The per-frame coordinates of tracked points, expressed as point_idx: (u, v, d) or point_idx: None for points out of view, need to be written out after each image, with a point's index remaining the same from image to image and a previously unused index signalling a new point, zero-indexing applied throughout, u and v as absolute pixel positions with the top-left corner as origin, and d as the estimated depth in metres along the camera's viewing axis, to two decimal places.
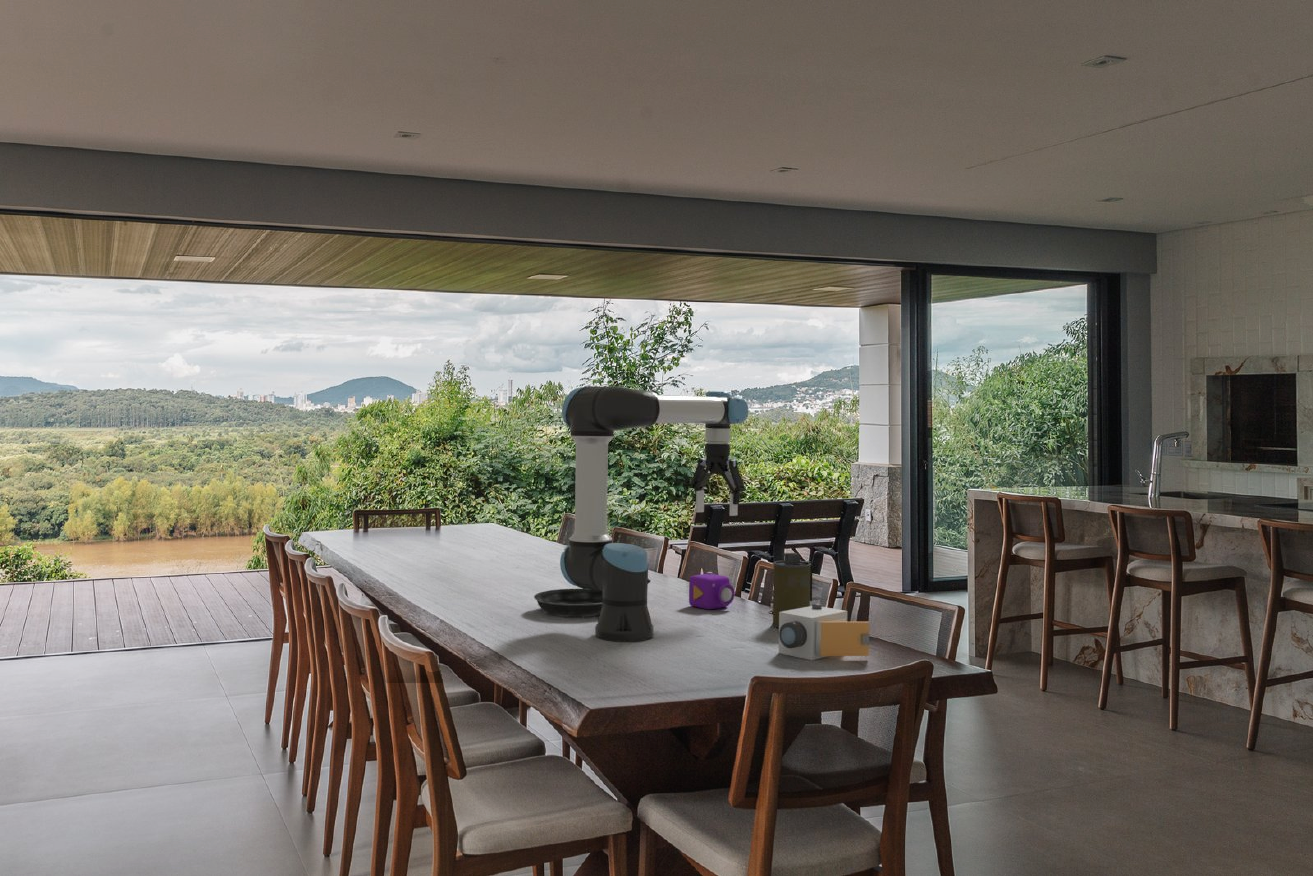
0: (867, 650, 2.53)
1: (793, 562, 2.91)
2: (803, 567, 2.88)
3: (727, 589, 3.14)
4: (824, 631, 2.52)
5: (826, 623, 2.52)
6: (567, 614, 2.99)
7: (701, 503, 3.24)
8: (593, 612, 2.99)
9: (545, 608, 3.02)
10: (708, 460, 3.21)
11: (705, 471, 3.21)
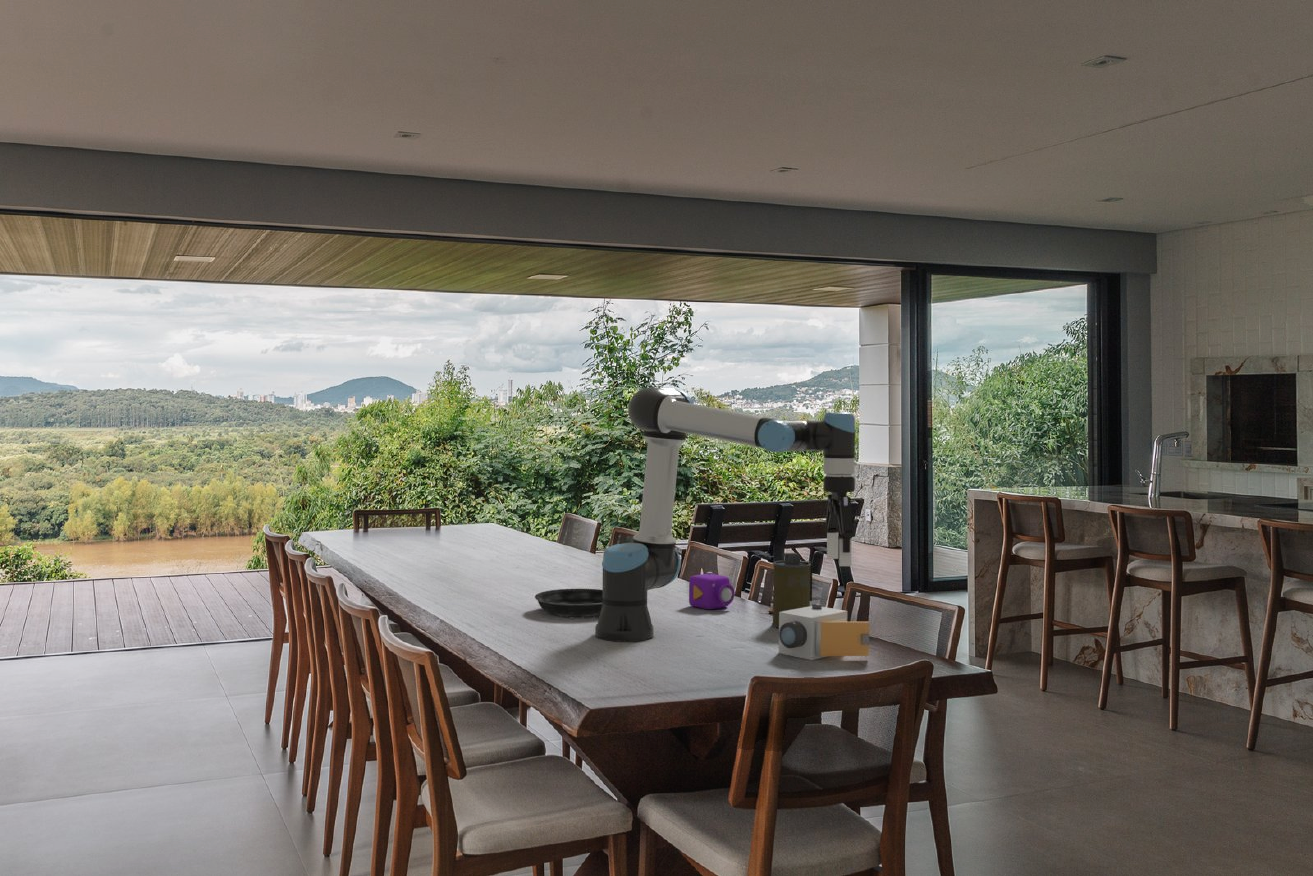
0: (867, 650, 2.53)
1: (793, 562, 2.91)
2: (803, 567, 2.88)
3: (727, 589, 3.14)
4: (824, 631, 2.52)
5: (826, 623, 2.52)
6: (568, 614, 2.99)
7: (834, 548, 2.67)
8: (594, 612, 2.99)
9: (546, 608, 3.02)
10: (832, 496, 2.63)
11: (829, 509, 2.64)
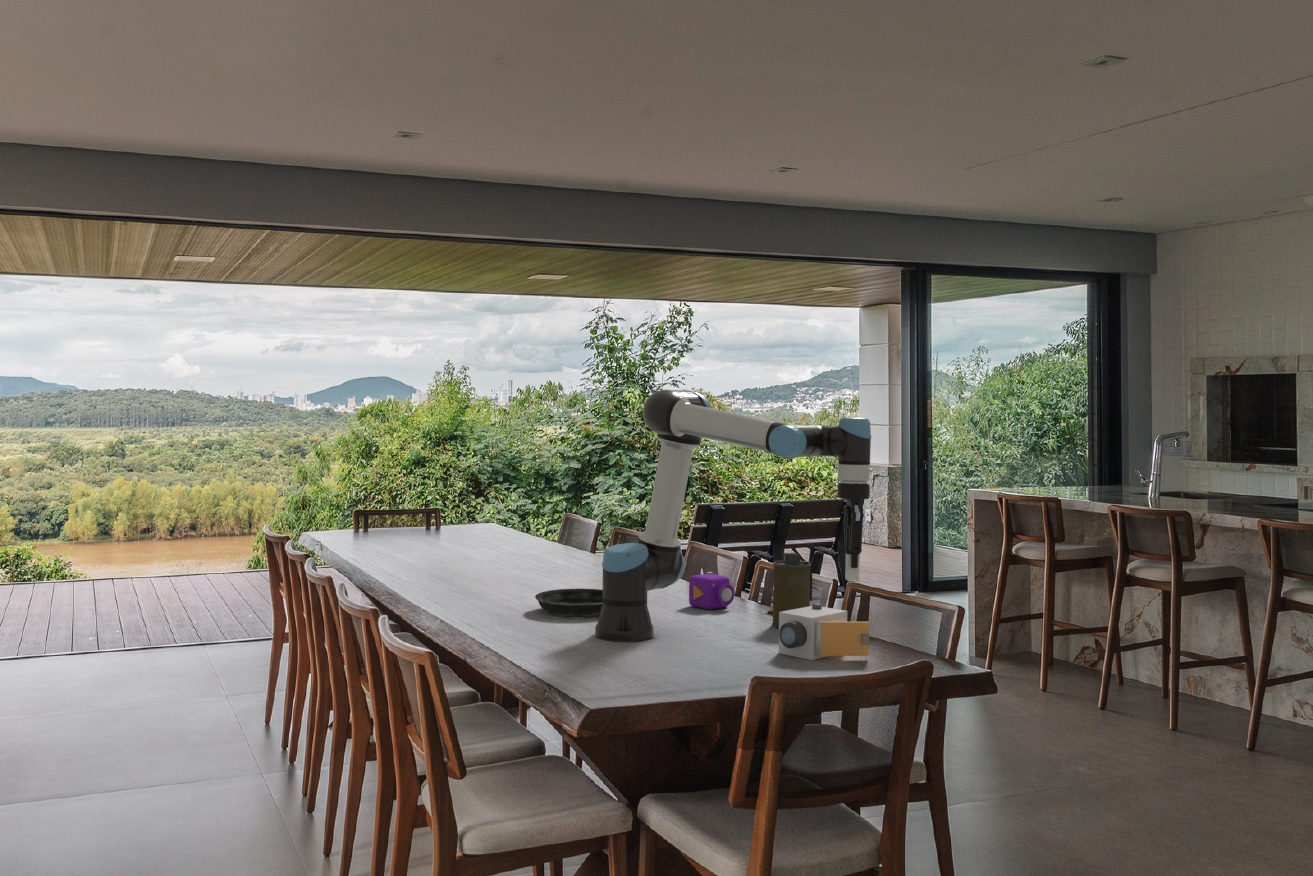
0: (867, 650, 2.53)
1: (793, 562, 2.91)
2: (803, 567, 2.88)
3: (727, 589, 3.14)
4: (824, 631, 2.52)
5: (826, 623, 2.52)
6: (568, 614, 2.99)
7: None
8: (594, 612, 2.99)
9: (546, 608, 3.02)
10: None
11: (844, 520, 2.57)
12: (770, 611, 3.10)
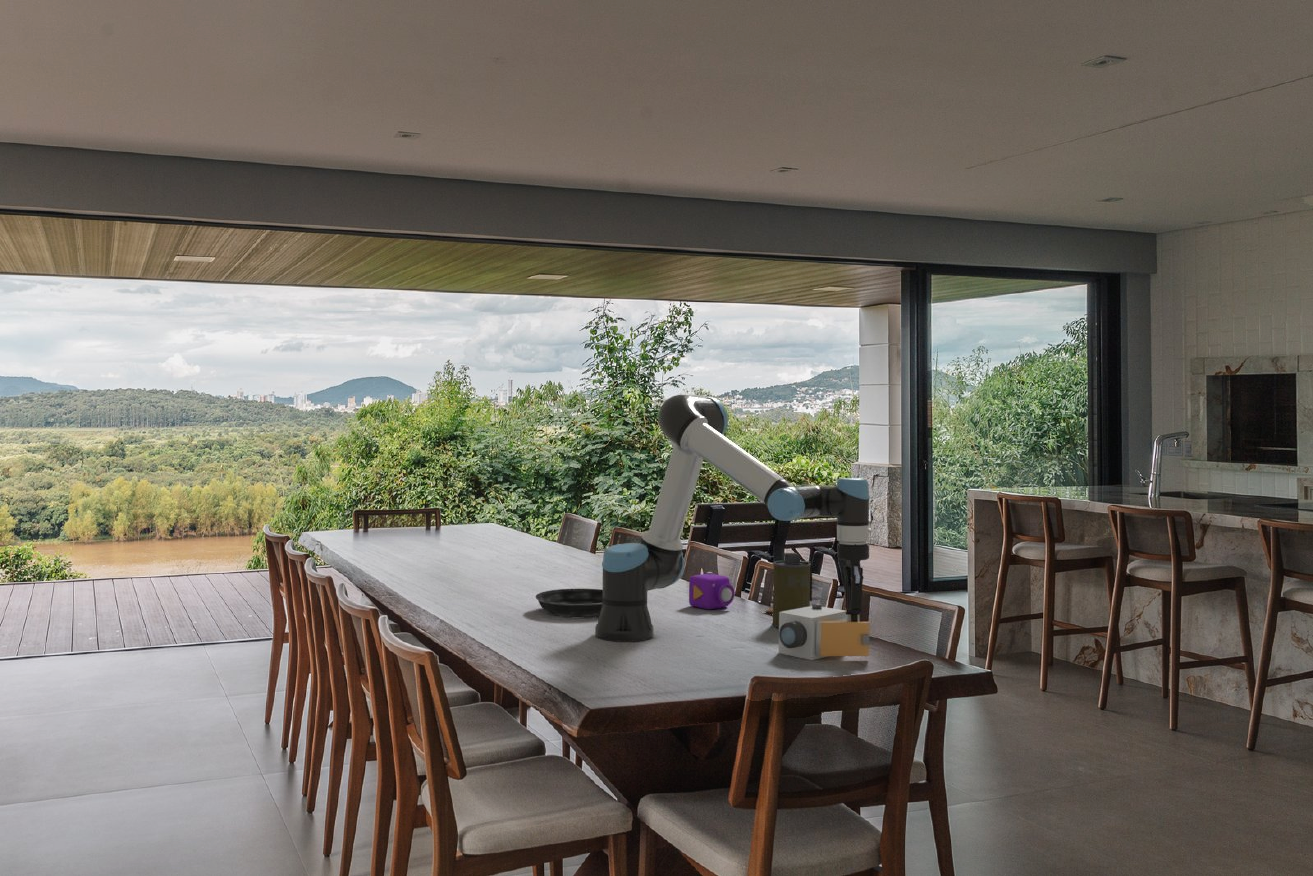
0: (867, 650, 2.53)
1: (793, 562, 2.91)
2: (803, 567, 2.88)
3: (727, 589, 3.14)
4: (824, 631, 2.52)
5: (826, 623, 2.52)
6: (568, 614, 2.99)
7: None
8: (594, 612, 3.00)
9: (546, 608, 3.02)
10: (846, 562, 2.58)
11: (845, 580, 2.57)
12: (768, 611, 3.10)
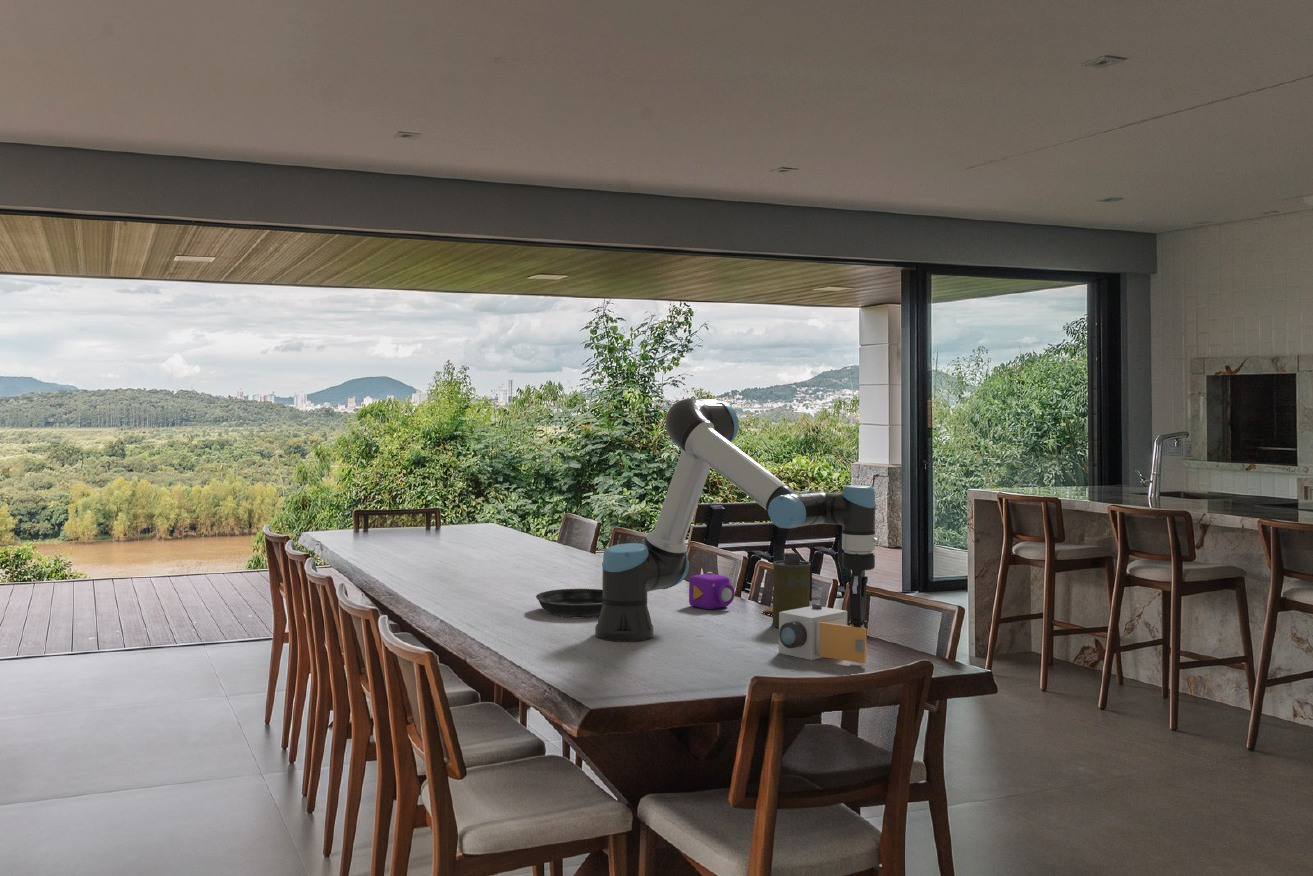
0: (863, 657, 2.45)
1: (793, 562, 2.91)
2: (803, 567, 2.88)
3: (727, 589, 3.14)
4: (822, 632, 2.51)
5: (824, 624, 2.51)
6: (569, 614, 2.99)
7: None
8: (595, 612, 3.00)
9: (547, 608, 3.02)
10: None
11: None
12: (766, 611, 3.09)
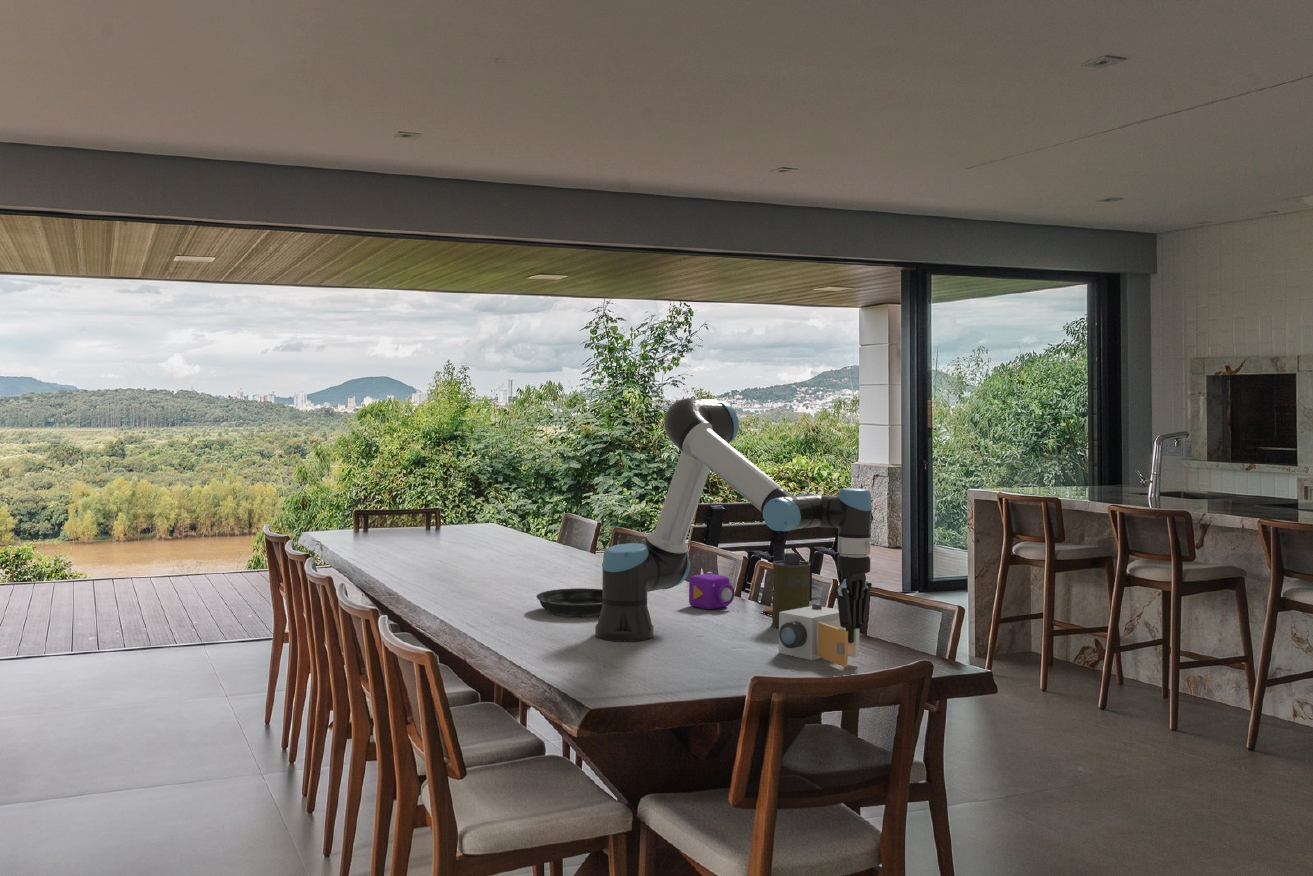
0: (843, 661, 2.41)
1: (793, 562, 2.91)
2: (803, 567, 2.88)
3: (727, 589, 3.14)
4: (820, 632, 2.51)
5: (821, 624, 2.50)
6: (569, 614, 2.99)
7: None
8: (595, 612, 3.00)
9: (547, 608, 3.02)
10: None
11: None
12: (765, 611, 3.10)
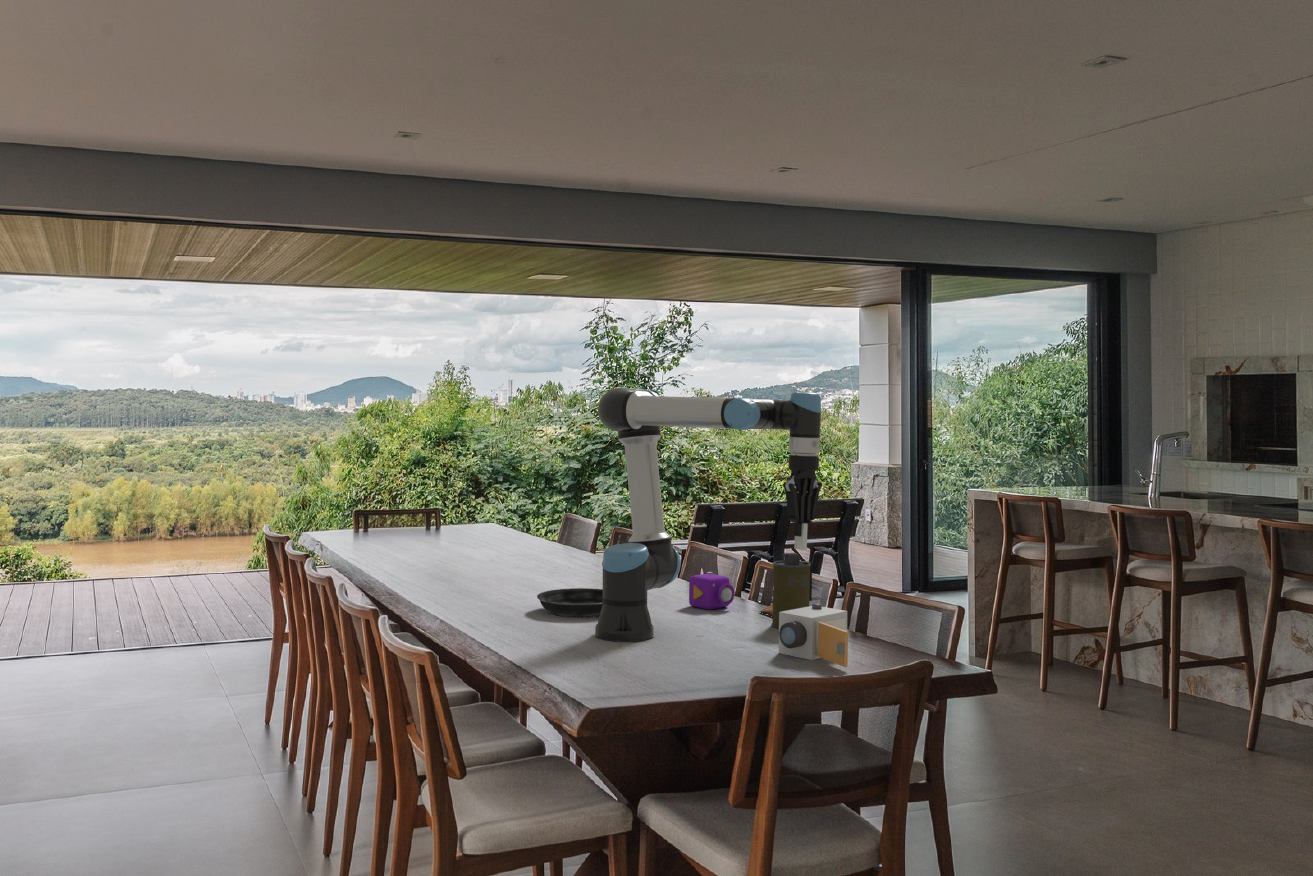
0: (843, 661, 2.41)
1: (793, 562, 2.91)
2: (803, 567, 2.88)
3: (727, 589, 3.14)
4: (820, 632, 2.51)
5: (821, 624, 2.50)
6: (570, 614, 2.99)
7: None
8: (596, 612, 3.00)
9: (548, 608, 3.02)
10: None
11: None
12: (763, 611, 3.09)
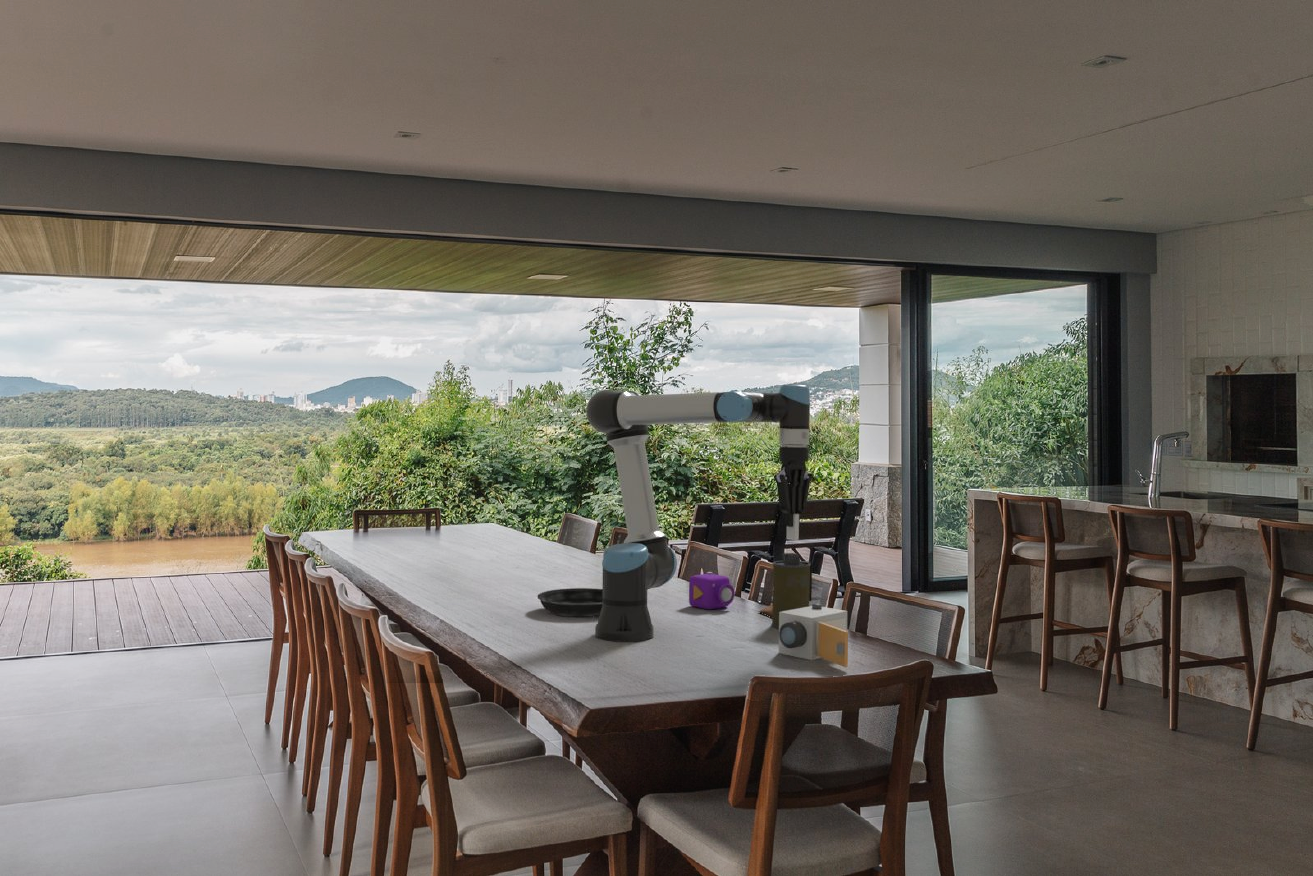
0: (843, 661, 2.41)
1: (792, 562, 2.91)
2: (802, 567, 2.88)
3: (727, 589, 3.14)
4: (820, 632, 2.51)
5: (821, 624, 2.50)
6: (570, 614, 2.99)
7: None
8: (596, 612, 3.00)
9: (548, 608, 3.02)
10: None
11: None
12: (762, 611, 3.10)
